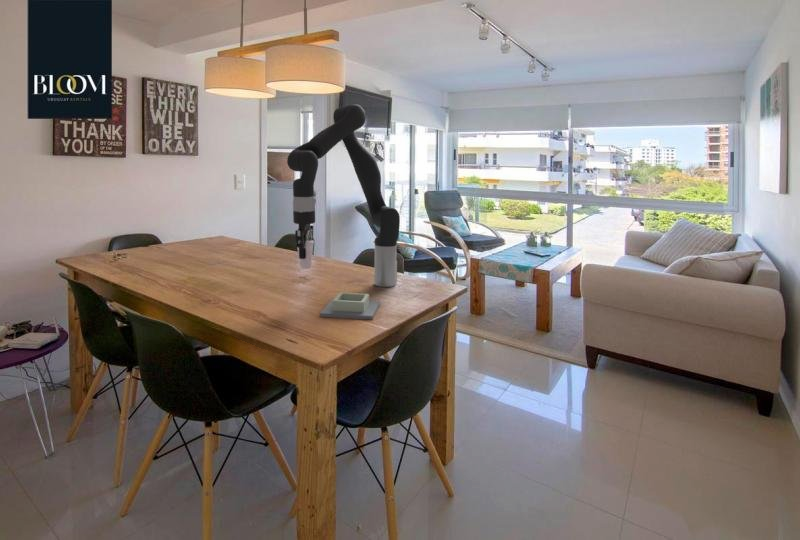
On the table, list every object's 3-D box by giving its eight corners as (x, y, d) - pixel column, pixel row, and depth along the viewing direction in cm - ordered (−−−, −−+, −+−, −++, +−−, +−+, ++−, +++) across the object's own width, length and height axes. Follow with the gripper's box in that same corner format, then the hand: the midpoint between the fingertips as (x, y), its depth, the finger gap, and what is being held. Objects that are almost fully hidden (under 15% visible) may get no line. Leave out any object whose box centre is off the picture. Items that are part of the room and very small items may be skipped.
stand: (332, 301, 181) (332, 289, 180) (380, 304, 179) (380, 291, 178) (319, 316, 163) (319, 303, 162) (372, 319, 162) (372, 306, 160)
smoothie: (316, 265, 176) (315, 227, 173) (313, 269, 170) (312, 230, 167) (298, 265, 176) (297, 227, 173) (295, 269, 170) (293, 229, 167)
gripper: (299, 207, 176) (301, 252, 179) (286, 211, 162) (288, 260, 165) (319, 207, 175) (320, 253, 179) (308, 212, 161) (310, 261, 165)
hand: (305, 256), depth 172 cm, fingers closed on smoothie, 6 cm apart
